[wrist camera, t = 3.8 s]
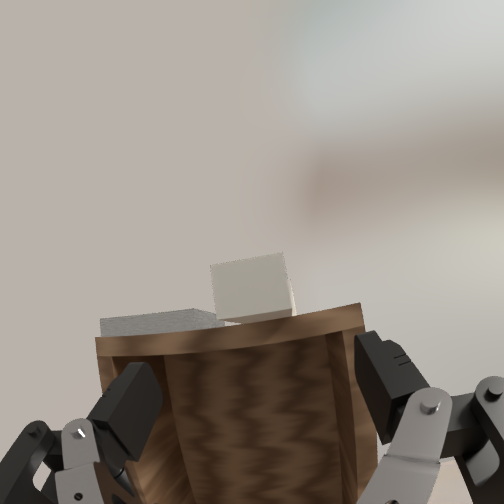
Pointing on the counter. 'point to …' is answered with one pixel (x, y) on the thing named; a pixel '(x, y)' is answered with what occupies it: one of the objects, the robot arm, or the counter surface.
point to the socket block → (159, 323)
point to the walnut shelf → (253, 412)
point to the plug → (252, 290)
